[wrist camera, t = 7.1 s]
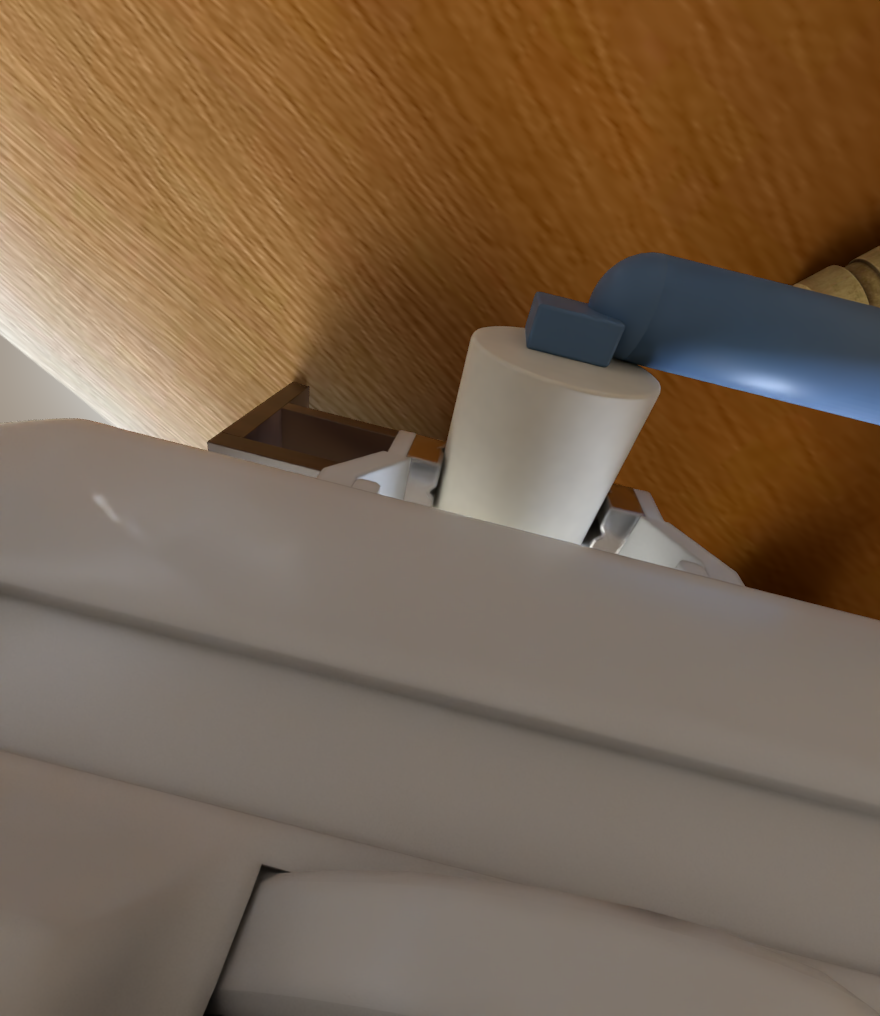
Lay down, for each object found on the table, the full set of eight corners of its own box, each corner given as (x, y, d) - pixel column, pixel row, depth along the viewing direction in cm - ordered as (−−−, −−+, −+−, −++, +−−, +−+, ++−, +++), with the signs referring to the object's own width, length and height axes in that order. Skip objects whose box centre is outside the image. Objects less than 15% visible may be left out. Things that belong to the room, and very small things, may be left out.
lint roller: (502, 213, 11) (495, 212, 7) (969, 330, 11) (1214, 391, 7) (419, 566, 18) (393, 659, 14) (698, 637, 18) (747, 750, 14)
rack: (292, 381, 36) (206, 441, 26) (546, 446, 36) (557, 531, 26) (291, 513, 44) (226, 597, 34) (499, 567, 44) (494, 667, 34)
